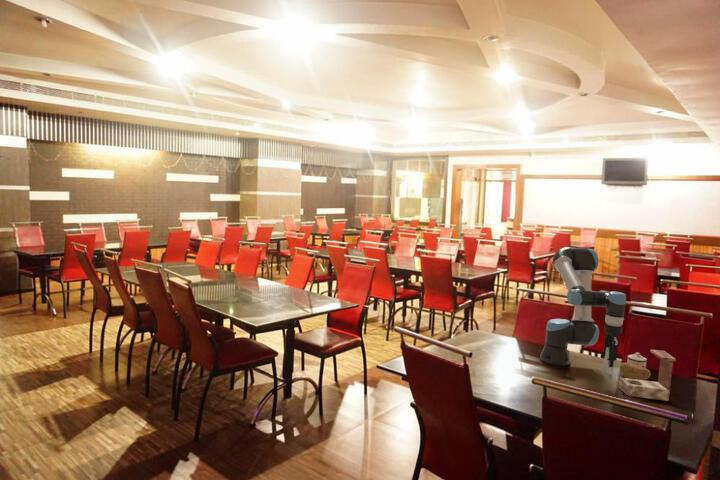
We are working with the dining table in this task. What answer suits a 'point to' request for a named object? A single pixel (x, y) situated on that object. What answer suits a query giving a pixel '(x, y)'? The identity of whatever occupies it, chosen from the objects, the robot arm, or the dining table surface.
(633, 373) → the potato
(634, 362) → the teacup with lid
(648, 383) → the socket stand
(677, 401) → the dining table surface
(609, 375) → the peg
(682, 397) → the dining table surface
